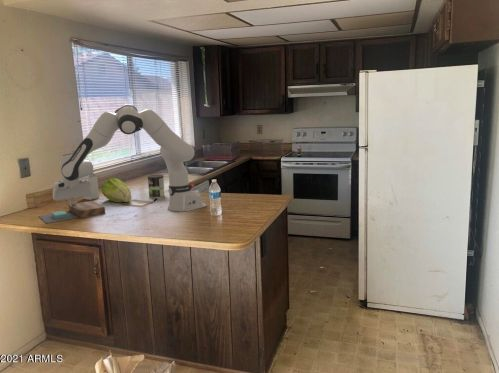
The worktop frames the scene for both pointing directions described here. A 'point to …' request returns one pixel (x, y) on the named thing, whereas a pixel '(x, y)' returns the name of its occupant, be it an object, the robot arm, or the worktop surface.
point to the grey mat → (51, 219)
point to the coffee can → (156, 186)
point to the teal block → (59, 214)
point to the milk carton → (92, 186)
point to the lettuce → (116, 190)
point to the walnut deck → (87, 209)
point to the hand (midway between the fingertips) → (73, 206)
